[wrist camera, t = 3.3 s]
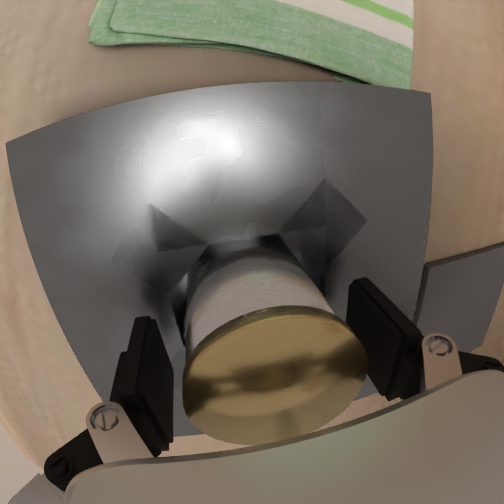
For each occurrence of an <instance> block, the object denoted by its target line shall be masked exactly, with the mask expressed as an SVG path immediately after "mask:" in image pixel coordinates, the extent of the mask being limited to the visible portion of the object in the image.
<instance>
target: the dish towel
mask: <svg viewBox="0 0 504 504" xmlns="http://www.w3.org/2000/svg"><path fill="white" fill-rule="evenodd" d="M88 27H89V28H90V33H89V39H88V43H89V44H93V45H95V46H114V45H120V44H132V45H172V46H188V47H202V48H216V49H227V50H235V51H242V52H251V53H256V54H261V55H268V56H274V57H279V58H284V59H289V60H294V61H298V62H303V63H308V64H312V65H317V66H321V67H323V68H326V69H329V70H332V71H336V72H339V73H342V74H345V75H348V76H347V77H333V78H335V79H338V80H340V81H343V82H345V83H357V84H365V83H363V82H362V81H365V82H367V83H370V84H372V85H378V86H387V87H395V88H402V89H408V90H410V86H411V71H412V62H413V34H414V15H413V0H98V2H97V4H96V6H95V8H94V10H93V12H92V14H91V17H90V20H89V23H88ZM361 80H362V81H361Z"/></svg>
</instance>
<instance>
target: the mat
mask: <svg viewBox="0 0 504 504" xmlns="http://www.w3.org/2000/svg"><path fill="white" fill-rule="evenodd" d="M503 283H504V243H500V244H497V245H494V246H490V247H487V248H483V249H480V250H476V251H473V252H469V253H466V254H462V255H458V256H455V257H451V258H447V259H444V260H440V261H436V262H432V263H428V264H425V266H424V272H423V277H422V283H421V288H420V293H419V298H418V302H417V307H416V311H415V315H414V320H413V324H414V325H415V326H416V327H417V328H418V329H419V330H420V331H421V334H422V335H423V336H424V337H426V336H427V335H429V334H432V333H440V334H444V335H447V336H448V337H450V338H451V339H452V340H453V341H454V342H455V344H456V346H457V351H461V352H466V353H468V352H470V351H472V350H474V349H476V348H477V347H479V346H481V344H482V342H483V340H484V337H485V335H486V332H487V330H488V327H489V324H490V322H491V319H492V316H493V314H494V311H495V308H496V305H497V302H498V299H499V296H500V293H501V290H502V286H503Z"/></svg>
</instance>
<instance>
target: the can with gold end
mask: <svg viewBox="0 0 504 504" xmlns="http://www.w3.org/2000/svg"><path fill="white" fill-rule="evenodd" d="M367 369H368V359H367V355H366V351H365V349H364V347H363V345H362V344H361V342H360V341H359V340H358V338H357V337H356V335H355V334H354V333H353V331H352V330H351V329H350V327H349V326H348V325H347V324H346V323H345V322H344V321H343V320H342V319H341V318H339V317H338V316H337V314H336V313H335V311H334V310H333V309H332V307H331V306H330V304H329V303H328V302H327V300H326V299H325V297H324V296H323V295H322V293H321V292H320V290H319V289H318V288H317V286H316V285H315V284H314V282H313V281H312V279H311V278H310V277H309V275H308V274H307V273H306V271H305V270H304V268H303V267H302V266H301V264H300V263H299V262H298V260H297V259H296V258H295V256H294V255H293V254H292V252H291V251H290V249H289V248H288V247H287V245H286V244H285V243H284V241H283V240H282V239H281V238H280V237H279V236H278V235H277V234H271V235H264V236H258V237H251V238H245V239H238V240H232V241H226V242H219V243H213V244H209V245H208V246H207V248H206V249H205V250H204V251H203V253H202V254H201V255H200V257H199V258H198V259H197V261H196V262H195V263H194V265H193V266H192V267H191V268H190V270H189V271H188V276H187V301H186V364H185V367H184V370H183V378H182V399H183V407H184V410H185V413H186V415H187V417H188V418H189V420H190V421H191V422H192V423H193V425H194V426H195V427H197V428H198V429H199V430H200V431H202V432H203V433H205V434H207V435H208V436H211V437H213V438H215V439H218V440H221V441H224V442H229V443H233V444H241V445H261V444H266V443H271V442H276V441H280V440H285V439H289V438H293V437H297V436H301V435H305V434H307V433H310V432H312V431H314V430H316V429H318V428H320V427H322V426H323V425H325V424H326V423H328V422H330V421H331V420H332V419H334V418H335V417H336V416H338V415H339V414H340V413H341V412H342V411H344V410H345V409H346V408H347V407H348V406H349V404H350V403H351V402H352V401H353V400H354V398H355V397H356V396H357V394H358V393H359V391H360V390H361V388H362V386H363V383H364V381H365V378H366V375H367Z"/></svg>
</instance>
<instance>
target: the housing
mask: <svg viewBox="0 0 504 504" xmlns="http://www.w3.org/2000/svg"><path fill="white" fill-rule="evenodd" d="M6 150H7V157H8V163H9V169H10V174H11V180H12V185H13V189H14V194H15V198H16V203H17V207H18V211H19V215H20V219H21V222H22V226H23V229H24V233H25V236H26V239H27V243H28V246H29V249H30V252H31V255H32V258H33V261H34V264H35V266H36V269H37V272H38V275H39V277H40V280H41V282H42V285H43V288H44V290H45V292H46V295H47V297H48V300H49V302H50V304H51V307H52V309H53V311H54V313H55V316H56V318H57V320H58V322H59V324H60V326H61V328H62V330H63V332H64V334H65V336H66V338H67V340H68V342H69V344H70V346H71V348H72V350H73V352H74V354H75V355H76V357H77V359H78V361H79V363H80V364H81V366H82V368H83V370H84V371H85V373H86V375H87V377H88V378H89V380H90V382H91V383H92V385H93V386H94V388H95V390H96V391H97V393H98V394H99V396H100V397H101V399H102V401H103V402H106V401H109V400H110V395H111V390H112V386H113V381H114V377H115V373H116V368H117V364H118V360H119V356H120V354H121V352H124V351H127V348H128V344H129V339H130V335H131V331H132V328H133V324H134V320H135V318H136V317H142V316H150V317H151V319H156V322H157V325H158V328H159V330H160V333H161V336H162V339H163V342H164V345H165V348H166V351H167V353H168V356H169V359H170V361H171V364H172V367H173V371H174V398H173V437H177V436H189V435H199V434H205V433H203V432H202V431H200V430H199V429H198V428H197V427H195V426H194V425H193V423H192V422H191V421H190V420H189V418H188V417H187V415H186V413H185V410H184V407H183V399H182V378H183V370H184V367H185V364H186V301H187V276H188V271H189V270H190V268H191V267H192V266H193V265H194V263H195V262H196V261H197V259H198V258H199V257H200V255H201V254H202V253H203V251H204V250H205V249H206V248H207V246H208V245H209V244H213V243H219V242H226V241H232V240H238V239H245V238H251V237H258V236H264V235H271V234H277V235H278V236H279V237H280V238H281V239H282V240H283V241H284V243H285V244H286V245H287V247H288V248H289V249H290V251H291V252H292V254H293V255H294V256H295V258H296V259H297V260H298V262H299V263H300V264H301V266H302V267H303V268H304V270H305V271H306V273H307V274H308V275H309V277H310V278H311V279H312V281H313V282H314V284H315V285H316V286H317V288H318V289H319V290H320V292H321V293H322V295H323V296H324V297H325V299H326V300H327V302H328V303H329V304H330V306H331V307H332V309H333V310H334V311H335V313H336V314H337V316H338V317H339V318H341V319H342V320H343V321H344V322H345V323H346V313H347V302H348V289H349V285H350V284H352V281H353V280H354V279H359V278H363V277H367V278H368V279H369V280H370V281H371V282H372V283H373V284H375V285H376V286H377V287H378V288H379V289H380V290H381V291H382V292H383V293H384V294H385V295H386V296H387V297H388V298H389V299H390V300H391V301H392V302H393V303H394V304H395V305H396V306H397V307H398V308H399V309H400V310H401V311H402V312H403V313H404V314H405V315H406V316H407V317H408V318H409V319H410V320H411V322H412V318H413V314H414V310H415V305H416V301H417V296H418V291H419V286H420V281H421V275H422V269H423V263H424V257H425V250H426V243H427V235H428V226H429V217H430V205H431V191H432V168H433V130H432V108H431V94H430V93H426V92H420V91H415V90H408V89H402V88H395V87H387V86H378V85H369V84H357V83H343V82H319V81H280V82H257V83H242V84H230V85H220V86H211V87H203V88H196V89H189V90H182V91H176V92H170V93H165V94H159V95H154V96H149V97H145V98H140V99H136V100H131V101H127V102H123V103H119V104H115V105H111V106H107V107H104V108H100V109H97V110H93V111H90V112H86V113H83V114H80V115H77V116H74V117H71V118H68V119H65V120H62V121H59V122H56V123H53V124H51V125H48V126H45V127H43V128H40V129H38V130H35V131H33V132H30V133H28V134H25V135H23V136H21V137H18V138H16V139H14V140H11V141H9V142H7V143H6ZM377 392H378V390H377V389H376V387H375V386H374V384H373V383H372V381H371V379H370V378H369V376H368V375H366V378H365V381H364V383H363V386H362V388H361V390H360V391H359V393H358V394H357V396H356V397H355V398H354V400H357V399H360V398H363V397H366V396H369V395H371V394H374V393H377ZM354 400H353V401H354Z"/></svg>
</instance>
